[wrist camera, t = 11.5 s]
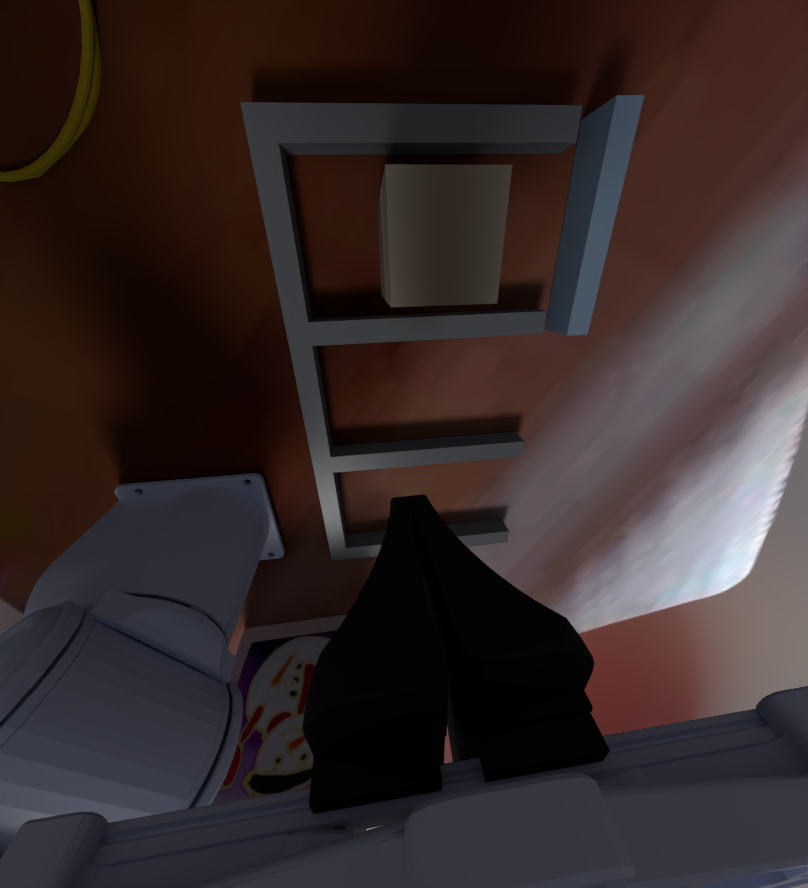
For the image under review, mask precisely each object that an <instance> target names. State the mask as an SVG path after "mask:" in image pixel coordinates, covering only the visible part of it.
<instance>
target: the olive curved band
mask: <svg viewBox="0 0 808 888" xmlns="http://www.w3.org/2000/svg"><path fill="white" fill-rule="evenodd" d="M79 6H80V12H81V29H82V54H81V66H80V76H79V80H78V85H77V90H76V95H75V99H74V102H73V105H72V107H71V110H70V113H69V116H68V119H67V121H66V123H65V125H64V127H63V128H62V130H61V132H60V134H59V136H58V138H57V139H56V140H55V142H54V143H53V144H52V145H51V147H50V148H49V149H48V150H47V152H46V153H45V154H43V155H42V156H41V157H40V158H39V159H37V160H36V161H35V162H34V163H32V164H30V165H28V166H26V167H24V168H22V169H19V170H14V171H9V172H0V181H5V182H15V181H20V180H25V179H31V178H36V177H40V176H41V175H43V174H44V173H45V172H46V171H47V170H48V169H49V168H50V167H51V166H52V165H53V164H54V163H55V162H57V161H58V160H59V159H60V158H61V157H62V156H63V155H64V154H65V153H66V152H67V151H68V150H69V149H70V148H71V146H72V145H73V144H74V143H75V141H76V140H77V139H78V137H79V136H80V135H81V134H82V133H83V131H84V130H85V128H86V127H87V125H88V123H89V121H90V119H91V116H92V114H93V111H94V109H95V106H96V102H97V98H98V95H99V90H100V80H101V61H100V47H99V40H98V33H97V26H96V19H95V15H94V11H93V7H92V3H91V0H79Z"/></svg>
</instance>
